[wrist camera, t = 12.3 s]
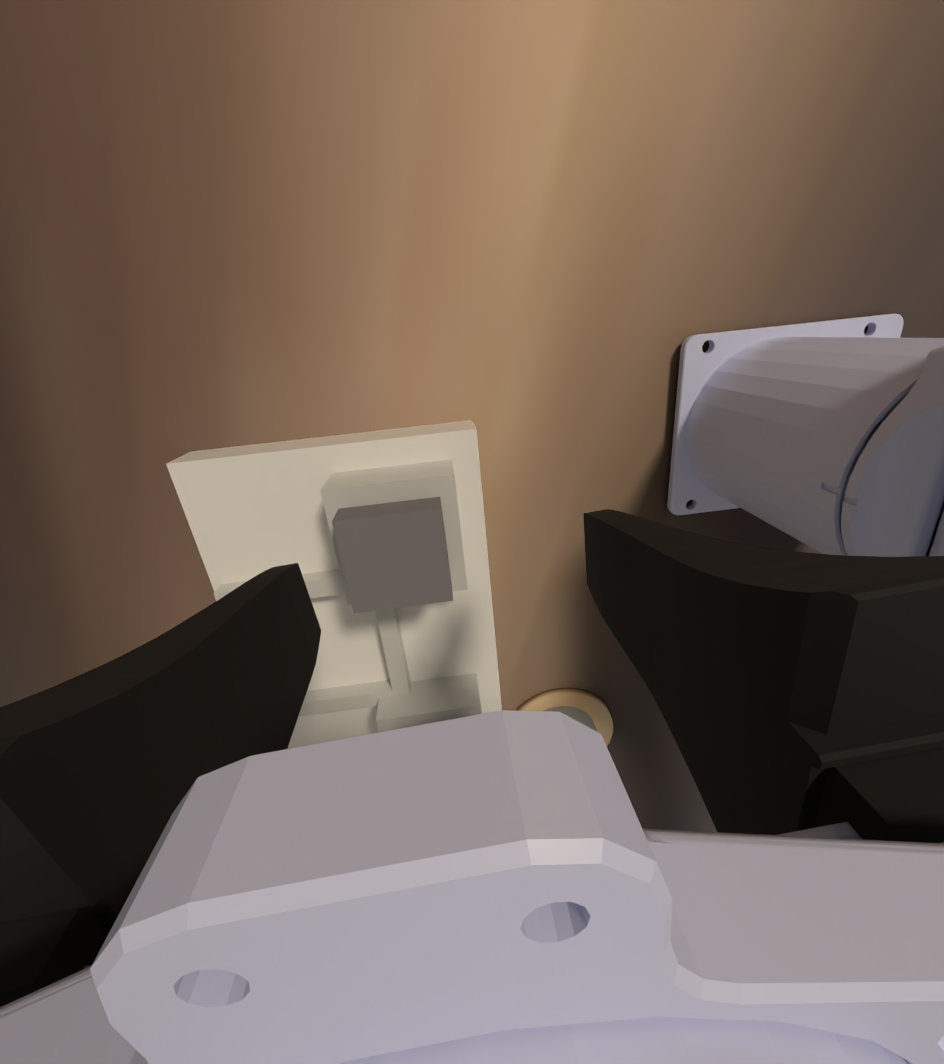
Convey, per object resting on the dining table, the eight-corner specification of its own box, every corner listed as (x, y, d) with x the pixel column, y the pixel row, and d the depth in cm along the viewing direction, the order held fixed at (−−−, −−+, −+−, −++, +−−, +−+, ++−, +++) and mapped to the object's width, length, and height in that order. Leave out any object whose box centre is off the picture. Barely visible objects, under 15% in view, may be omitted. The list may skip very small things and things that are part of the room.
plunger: (439, 481, 18) (441, 508, 15) (449, 562, 19) (452, 600, 17) (346, 492, 18) (331, 521, 15) (364, 573, 19) (353, 613, 16)
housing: (471, 420, 20) (482, 440, 16) (501, 737, 28) (513, 802, 24) (191, 451, 19) (132, 481, 15) (301, 765, 27) (280, 837, 23)
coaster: (611, 681, 26) (615, 687, 26) (608, 759, 29) (611, 765, 29) (502, 696, 26) (504, 702, 26) (509, 773, 29) (511, 780, 28)
